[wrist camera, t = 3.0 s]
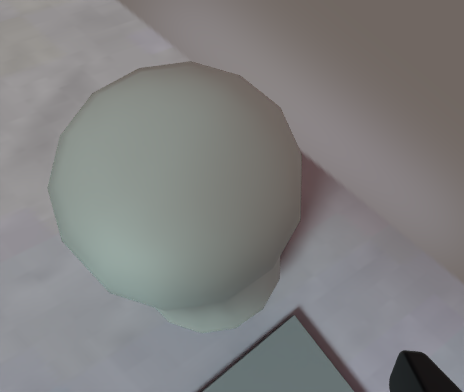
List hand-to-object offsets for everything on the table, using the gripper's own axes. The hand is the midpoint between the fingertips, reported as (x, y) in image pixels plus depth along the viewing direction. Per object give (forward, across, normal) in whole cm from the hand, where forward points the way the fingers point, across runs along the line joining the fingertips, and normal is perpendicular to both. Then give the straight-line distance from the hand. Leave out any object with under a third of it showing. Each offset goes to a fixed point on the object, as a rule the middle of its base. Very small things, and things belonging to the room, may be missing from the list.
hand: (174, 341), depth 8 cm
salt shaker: (+9, 0, +5) cm, 11 cm away
